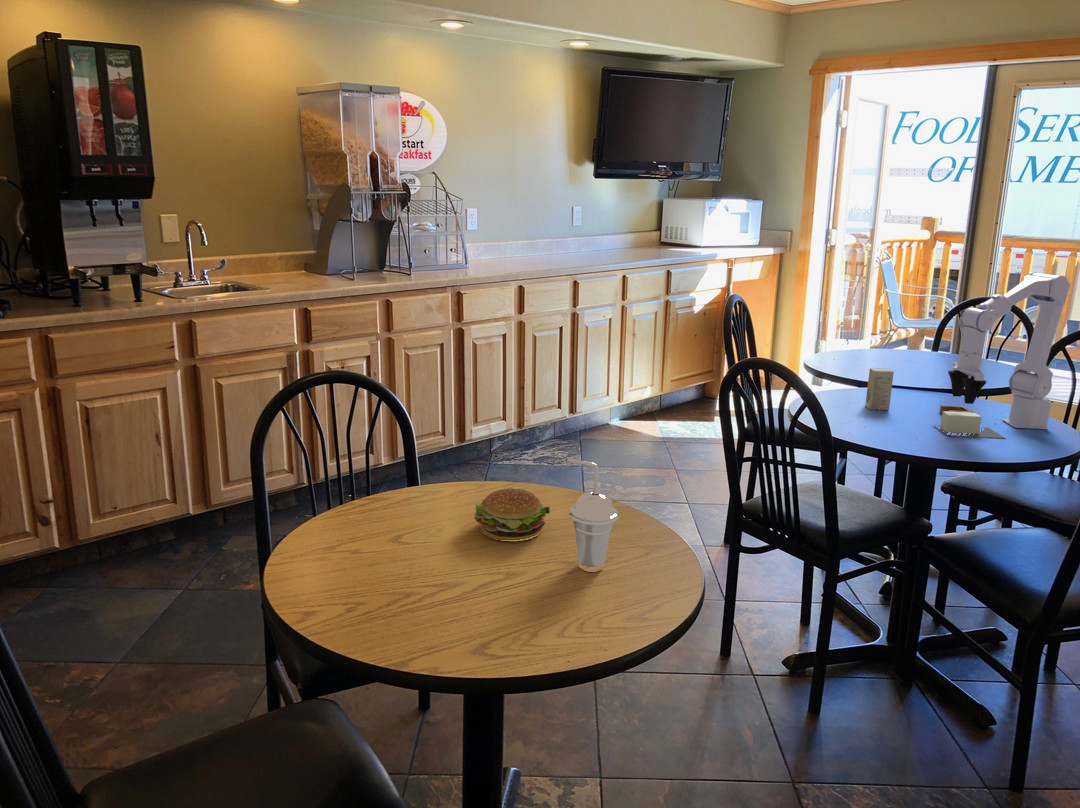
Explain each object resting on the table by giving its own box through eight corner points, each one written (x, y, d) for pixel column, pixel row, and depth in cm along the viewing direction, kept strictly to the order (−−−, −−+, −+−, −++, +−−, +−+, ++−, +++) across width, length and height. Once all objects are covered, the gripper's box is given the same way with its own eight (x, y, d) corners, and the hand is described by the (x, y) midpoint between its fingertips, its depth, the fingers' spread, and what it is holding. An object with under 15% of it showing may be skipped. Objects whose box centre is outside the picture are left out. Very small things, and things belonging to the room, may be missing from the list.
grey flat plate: (988, 428, 240) (988, 427, 240) (1005, 438, 231) (1005, 438, 231) (931, 425, 241) (932, 424, 241) (946, 436, 231) (946, 435, 231)
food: (458, 535, 158) (459, 496, 155) (500, 512, 169) (501, 475, 167) (520, 554, 151) (521, 513, 149) (559, 528, 162) (561, 490, 160)
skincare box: (885, 406, 259) (890, 368, 256) (889, 410, 255) (895, 371, 252) (863, 405, 260) (869, 367, 257) (867, 409, 256) (873, 370, 253)
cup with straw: (605, 582, 141) (611, 470, 136) (556, 570, 145) (560, 461, 140) (621, 562, 149) (629, 456, 143) (575, 551, 152) (580, 447, 147)
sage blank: (972, 429, 238) (975, 412, 236) (978, 433, 234) (981, 416, 232) (939, 428, 238) (942, 411, 237) (945, 432, 234) (948, 415, 233)
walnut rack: (962, 414, 254) (963, 406, 254) (972, 420, 248) (974, 412, 247) (939, 413, 255) (940, 405, 254) (948, 419, 248) (950, 411, 247)
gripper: (945, 346, 237) (937, 392, 241) (968, 357, 223) (959, 406, 227) (970, 347, 237) (962, 393, 240) (995, 358, 223) (986, 407, 226)
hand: (962, 399), depth 233 cm, fingers open, 7 cm apart
